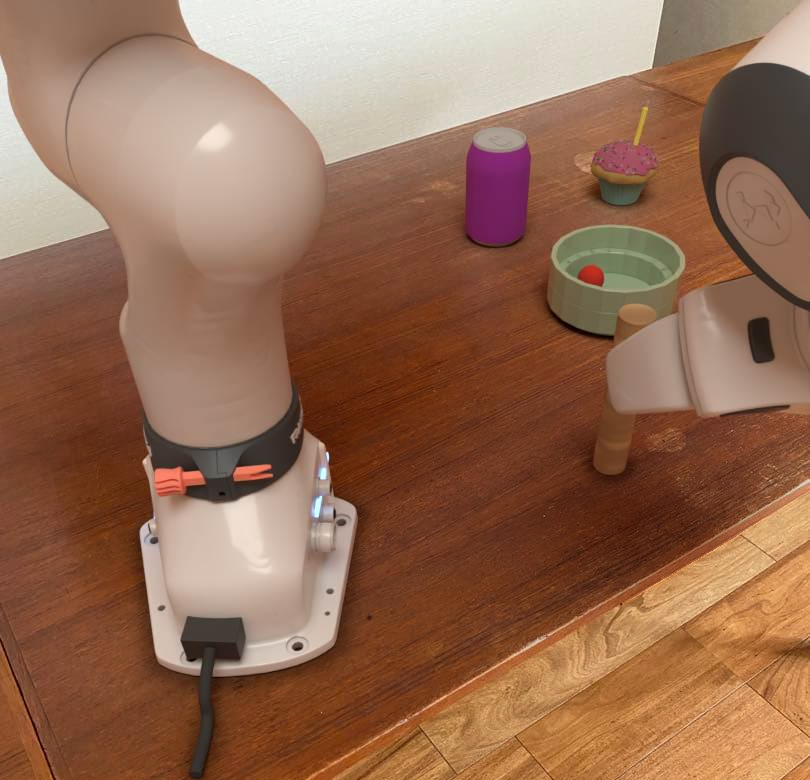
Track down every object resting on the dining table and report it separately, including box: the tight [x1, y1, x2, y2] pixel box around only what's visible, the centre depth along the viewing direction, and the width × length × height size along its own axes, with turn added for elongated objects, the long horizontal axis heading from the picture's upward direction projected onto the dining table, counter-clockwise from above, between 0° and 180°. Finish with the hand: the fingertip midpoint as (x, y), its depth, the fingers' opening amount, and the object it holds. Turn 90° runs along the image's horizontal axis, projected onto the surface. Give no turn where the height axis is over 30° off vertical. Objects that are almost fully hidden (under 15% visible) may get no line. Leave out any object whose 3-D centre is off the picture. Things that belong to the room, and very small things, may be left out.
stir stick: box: [592, 304, 657, 476], centre depth 74 cm, size 3×3×16 cm
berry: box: [577, 265, 604, 287], centre depth 97 cm, size 3×3×3 cm
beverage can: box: [464, 126, 532, 248], centre depth 105 cm, size 8×8×12 cm
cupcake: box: [590, 100, 659, 206], centre depth 111 cm, size 9×8×12 cm
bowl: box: [546, 224, 686, 337], centre depth 96 cm, size 14×14×6 cm
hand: (719, 372), depth 58 cm, fingers open, 8 cm apart
